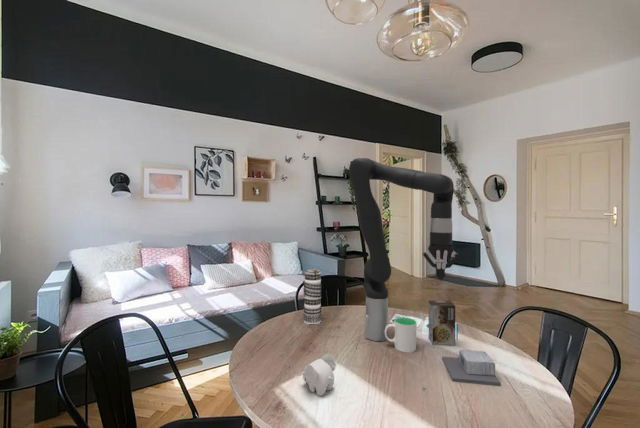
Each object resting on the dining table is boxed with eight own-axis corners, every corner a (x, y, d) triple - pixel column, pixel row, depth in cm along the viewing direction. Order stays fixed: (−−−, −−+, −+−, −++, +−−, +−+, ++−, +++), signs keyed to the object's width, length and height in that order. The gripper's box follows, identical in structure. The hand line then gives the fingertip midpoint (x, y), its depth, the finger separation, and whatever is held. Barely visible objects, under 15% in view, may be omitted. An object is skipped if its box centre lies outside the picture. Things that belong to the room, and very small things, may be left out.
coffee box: (450, 339, 125) (450, 300, 125) (455, 346, 119) (456, 305, 119) (427, 338, 126) (428, 299, 126) (431, 344, 120) (432, 304, 120)
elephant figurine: (312, 374, 98) (313, 347, 98) (343, 388, 91) (343, 358, 91) (292, 387, 91) (292, 358, 91) (323, 403, 83) (323, 372, 83)
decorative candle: (299, 319, 146) (300, 268, 146) (317, 316, 150) (317, 266, 150) (307, 326, 138) (307, 271, 138) (325, 323, 142) (325, 270, 141)
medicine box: (466, 374, 97) (495, 376, 96) (466, 360, 97) (495, 362, 96) (458, 361, 105) (485, 364, 103) (459, 349, 105) (485, 351, 103)
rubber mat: (452, 381, 95) (452, 378, 95) (442, 359, 108) (442, 356, 108) (500, 385, 92) (500, 382, 92) (483, 362, 106) (483, 360, 106)
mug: (386, 351, 114) (386, 324, 114) (383, 342, 122) (383, 316, 122) (418, 352, 113) (418, 325, 113) (413, 343, 121) (413, 317, 121)
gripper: (423, 231, 105) (422, 280, 106) (463, 232, 103) (462, 282, 103) (420, 229, 113) (419, 276, 113) (457, 230, 110) (456, 277, 111)
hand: (440, 279), depth 108 cm, fingers closed
